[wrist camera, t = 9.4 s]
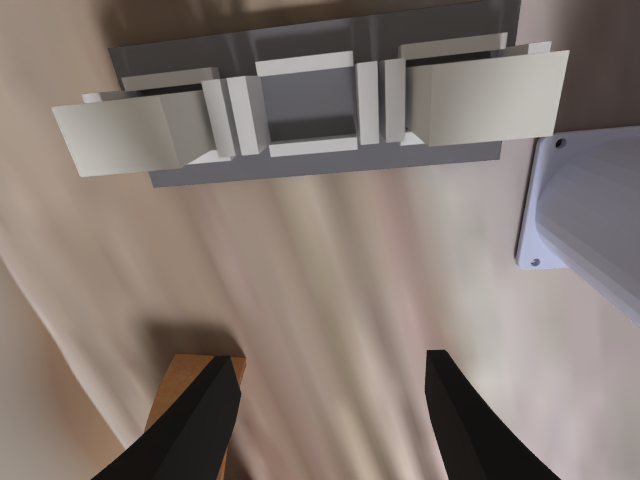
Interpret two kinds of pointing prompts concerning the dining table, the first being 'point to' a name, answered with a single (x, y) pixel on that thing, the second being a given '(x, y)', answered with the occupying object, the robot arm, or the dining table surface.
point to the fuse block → (317, 89)
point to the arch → (186, 385)
